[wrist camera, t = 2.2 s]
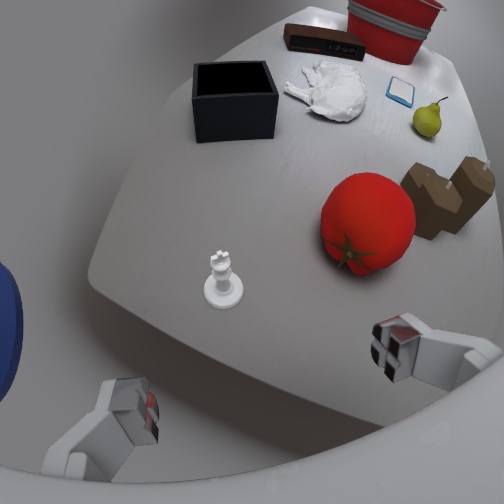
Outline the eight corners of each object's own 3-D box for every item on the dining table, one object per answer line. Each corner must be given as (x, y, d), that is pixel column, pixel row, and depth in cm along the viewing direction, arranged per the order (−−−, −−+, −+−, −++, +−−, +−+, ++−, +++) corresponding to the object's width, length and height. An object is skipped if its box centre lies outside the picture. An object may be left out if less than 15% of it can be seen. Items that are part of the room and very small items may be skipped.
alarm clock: (287, 50, 71) (289, 34, 65) (283, 38, 76) (285, 23, 71) (362, 61, 72) (367, 46, 67) (351, 47, 77) (355, 33, 72)
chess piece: (199, 278, 37) (187, 238, 28) (235, 267, 38) (235, 224, 29) (211, 314, 35) (201, 283, 26) (249, 301, 36) (253, 267, 27)
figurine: (256, 85, 59) (258, 62, 54) (323, 63, 68) (327, 45, 62) (333, 133, 52) (341, 107, 47) (389, 102, 61) (397, 82, 55)
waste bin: (196, 143, 49) (191, 98, 40) (197, 102, 55) (193, 63, 47) (273, 138, 50) (279, 94, 42) (262, 99, 56) (265, 60, 48)
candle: (456, 195, 47) (494, 144, 34) (464, 253, 41) (517, 203, 28) (399, 171, 49) (432, 110, 35) (401, 229, 42) (449, 166, 29)
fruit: (407, 133, 55) (427, 91, 44) (409, 119, 58) (426, 80, 47) (433, 147, 54) (455, 107, 43) (433, 132, 57) (453, 95, 46)
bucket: (389, 74, 70) (415, -7, 43) (316, 30, 83) (328, -37, 57) (438, 72, 79) (462, 12, 53) (374, 32, 93) (389, -23, 66)
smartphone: (414, 86, 66) (413, 105, 60) (413, 89, 67) (411, 109, 61) (392, 75, 68) (386, 92, 61) (390, 79, 69) (385, 96, 62)
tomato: (358, 218, 47) (316, 277, 42) (339, 150, 39) (286, 207, 34) (429, 233, 38) (396, 304, 33) (424, 157, 30) (388, 226, 25)
